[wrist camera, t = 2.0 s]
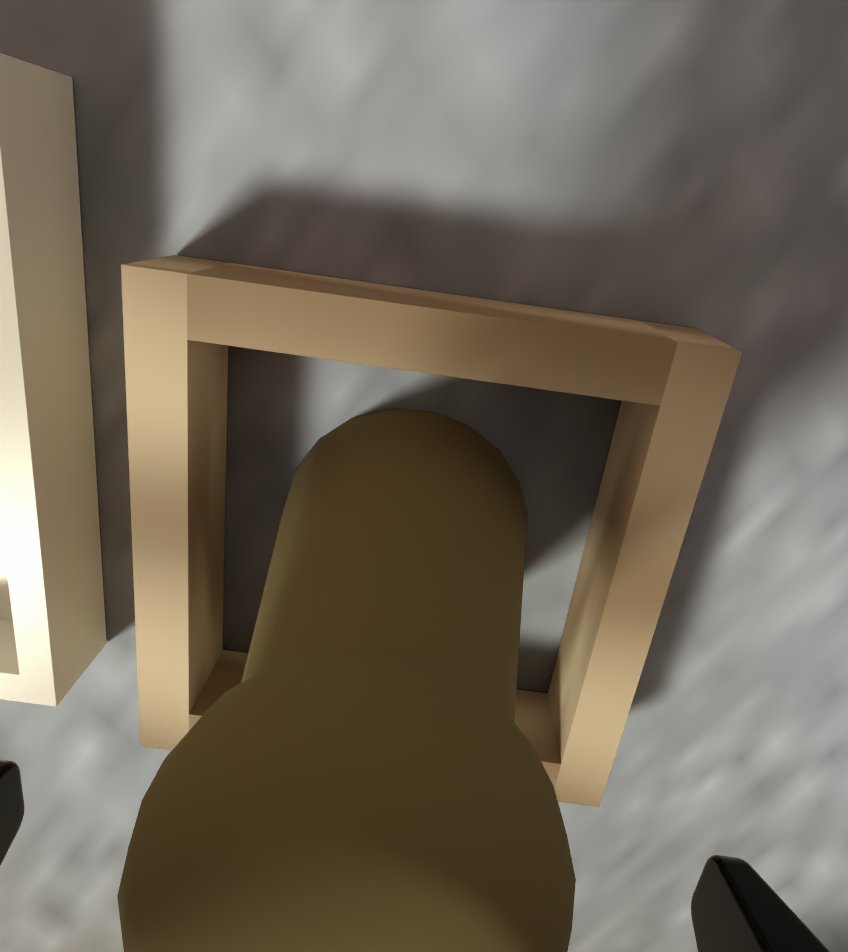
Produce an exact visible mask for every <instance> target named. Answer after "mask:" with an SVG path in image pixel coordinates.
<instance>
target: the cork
mask: <svg viewBox="0 0 848 952" xmlns="http://www.w3.org/2000/svg"><path fill="white" fill-rule="evenodd" d="M526 527H527V513H526V508H525V504H524V500H523V496H522V492H521V488H520V483H519V480H518V479H517V477H516V476H515V474H514V473H513V471H512V470H511V468H510V467H509V465H508V464H507V462H506V460H505V459H504V457H503V456H502V454H501V453H500V451H499V450H498V449H497V448H496V447H494V446H493V445H492V444H491V443H489V442H488V441H487V440H486V439H484V438H483V437H482V436H480V435H479V434H478V433H477V432H475V431H474V430H473V429H472V428H470V427H469V426H468V425H465V424H462V423H460V422H457V421H454V420H452V419H449V418H446V417H444V416H441V415H438V414H436V413H433V412H430V411H414V410H396V409H388V410H384V411H380V412H376V413H372V414H368V415H364V416H361V417H357V418H353V419H350V420H348V421H347V422H345V423H344V424H342V425H341V426H339V427H337V428H336V429H334V430H333V431H331V432H330V433H328V434H327V435H325V436H323V437H322V438H320V439H319V440H318V441H317V442H316V444H315V445H314V446H313V447H312V449H311V450H310V451H309V452H308V454H307V455H306V456H305V458H304V459H303V460H302V461H301V463H300V464H299V465H298V467H297V468H296V470H295V473H294V477H293V480H292V483H291V486H290V489H289V492H288V495H287V498H286V501H285V505H284V509H283V514H282V518H281V522H280V526H279V530H278V534H277V538H276V542H275V546H274V550H273V555H272V559H271V563H270V567H269V571H268V575H267V579H266V583H265V587H264V591H263V596H262V600H261V604H260V608H259V612H258V616H257V620H256V624H255V628H254V632H253V637H252V641H251V645H250V649H249V653H248V657H247V661H246V665H245V669H244V673H243V677H242V682H241V683H240V684H238V685H237V686H235V687H233V688H231V689H229V690H228V691H226V692H225V693H224V694H223V695H222V696H221V697H220V698H219V699H218V700H217V701H216V702H215V703H214V704H213V705H212V706H211V707H210V708H209V709H208V710H207V711H206V713H205V714H204V715H203V716H202V717H201V718H200V719H199V720H198V721H197V722H196V723H195V725H194V726H193V727H192V728H191V729H190V730H189V732H188V733H187V734H186V735H185V736H184V737H183V738H182V740H181V741H180V742H179V743H178V744H177V745H176V747H175V748H174V749H173V750H172V751H171V752H170V754H169V755H168V756H167V757H166V758H165V759H164V761H163V763H162V765H161V767H160V768H159V770H158V772H157V774H156V776H155V778H154V779H153V781H152V783H151V785H150V787H149V789H148V790H147V792H146V794H145V796H144V798H143V800H142V802H141V806H140V809H139V813H138V816H137V820H136V823H135V827H134V830H133V834H132V837H131V841H130V844H129V848H128V852H127V856H126V861H125V865H124V870H123V874H122V879H121V883H120V887H119V892H118V904H119V913H120V922H121V930H122V939H123V947H124V952H567V951H568V945H569V940H570V935H571V930H572V919H573V906H574V893H575V881H576V879H575V874H574V869H573V864H572V859H571V854H570V849H569V844H568V839H567V834H566V830H565V827H564V823H563V819H562V815H561V812H560V808H559V804H558V801H557V797H556V793H555V789H554V786H553V784H552V782H551V780H550V778H549V776H548V774H547V772H546V770H545V768H544V766H543V764H542V762H541V760H540V758H539V756H538V754H537V752H536V750H535V749H534V748H533V746H532V745H531V744H530V742H529V741H528V740H527V739H526V737H525V736H524V735H523V733H522V732H521V731H520V729H519V728H518V727H517V725H516V724H515V723H514V720H515V703H516V687H517V671H518V655H519V639H520V623H521V607H522V591H523V575H524V559H525V543H526Z"/></svg>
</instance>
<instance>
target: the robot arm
mask: <svg viewBox="0 0 848 952" xmlns="http://www.w3.org/2000/svg"><path fill="white" fill-rule="evenodd" d="M23 815H24V800H23V792H22V784H21V777H20V770H19V767H18V765H17V764H16V763H15V762H12V761H7V760H0V865H1V863H2V861H3V859H4V857H5V855H6V853H7V851H8V849H9V847H10V845H11V843H12V841H13V839H14V837H15V836H16V834H17V832H18V830H19V827H20V825H21V822H22V819H23ZM691 915H692V921H693V927H694V932H695V937H696V943H697V948H698V952H830V951H829V950H828V949H827V948H826V947H825V946H824V945H823V944H822V943H821V942H820V940H819V939H818V938H817V937H816V936H815V935H814V934H813V933H812V932H811V931H810V930H809V929H808V927H807V926H806V925H805V924H804V923H803V922H802V921H801V920H800V919H799V918H798V917H797V916H796V914H795V913H794V912H793V911H792V910H791V909H790V908H789V907H788V906H787V905H786V904H785V903H784V901H783V900H782V899H781V898H780V897H779V896H778V895H777V894H776V893H775V892H774V891H773V890H772V888H771V887H770V886H769V885H768V884H767V883H766V882H765V881H764V880H763V879H762V878H761V877H760V875H759V874H758V873H757V872H756V871H755V870H754V869H753V868H752V867H751V866H750V865H749V864H748V863H747V862H745V861H744V860H742V859H739V858H734V857H727V856H719V855H713V856H711V857H710V858H709V859H708V860H707V862H706V864H705V867H704V869H703V872H702V874H701V877H700V879H699V881H698V884H697V886H696V889H695V891H694V893H693V897H692V902H691Z"/></svg>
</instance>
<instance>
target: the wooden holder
mask: <svg viewBox="0 0 848 952" xmlns="http://www.w3.org/2000/svg"><path fill="white" fill-rule="evenodd" d="M121 279H122V304H123V329H124V354H125V379H126V404H127V428H128V453H129V478H130V503H131V528H132V553H133V577H134V602H135V627H136V652H137V677H138V702H139V727H140V746H144V747H152V748H159V749H167V750H173V749H174V748H175V747H176V745H177V744H178V743H179V742H180V741H181V740H182V738H183V737H184V736H185V735H186V734H187V733H188V732H189V730H190V729H191V728H192V727H193V726H194V725H195V723H196V722H197V721H198V720H199V719H200V718H201V717H202V716H203V715H204V714H205V713H206V711H207V710H208V709H209V708H210V707H211V706H212V705H213V704H214V703H215V702H216V701H217V700H218V699H219V698H220V697H221V696H222V695H223V694H224V693H225V692H226V691H228V690H229V689H231V688H233V687H235V686H237V685H238V684H240V683H241V682H242V677H243V673H244V669H245V665H246V661H247V657H248V653H244V652H236V651H229V650H222V649H223V598H224V546H225V495H226V444H227V393H228V346H236V347H243V348H250V349H257V350H264V351H271V352H278V353H286V354H293V355H300V356H307V357H314V358H321V359H329V360H336V361H343V362H350V363H357V364H364V365H372V366H379V367H386V368H393V369H400V370H407V371H415V372H422V373H429V374H436V375H443V376H450V377H457V378H465V379H472V380H479V381H486V382H493V383H500V384H508V385H515V386H522V387H529V388H536V389H543V390H551V391H558V392H565V393H572V394H579V395H586V396H594V397H601V398H608V399H615V400H622V402H621V406H620V410H619V414H618V418H617V422H616V426H615V430H614V433H613V437H612V441H611V445H610V449H609V453H608V457H607V461H606V465H605V469H604V473H603V477H602V481H601V485H600V489H599V493H598V497H597V501H596V505H595V509H594V512H593V516H592V520H591V524H590V528H589V532H588V536H587V540H586V544H585V548H584V552H583V556H582V560H581V564H580V568H579V572H578V576H577V580H576V584H575V587H574V591H573V595H572V599H571V603H570V607H569V611H568V615H567V619H566V623H565V627H564V631H563V635H562V639H561V643H560V647H559V651H558V655H557V659H556V662H555V666H554V670H553V674H552V678H551V682H550V686H549V690H548V693H540V692H533V691H526V690H518V689H516V703H515V720H514V723H515V724H516V725H517V727H518V728H519V729H520V731H521V732H522V733H523V735H524V736H525V737H526V739H527V740H528V741H529V742H530V744H531V745H532V746H533V748H534V749H535V750H536V752H537V754H538V756H539V758H540V760H541V762H542V764H543V766H544V768H545V770H546V772H547V774H548V776H549V778H550V780H551V782H552V784H553V786H554V789H555V793H556V797H557V801H558V802H565V803H573V804H580V805H588V806H595V807H599V806H600V802H601V799H602V796H603V793H604V790H605V787H606V783H607V780H608V777H609V774H610V771H611V768H612V764H613V761H614V758H615V755H616V752H617V749H618V745H619V742H620V739H621V736H622V733H623V730H624V726H625V723H626V720H627V717H628V714H629V711H630V707H631V704H632V701H633V698H634V695H635V692H636V688H637V685H638V682H639V679H640V676H641V673H642V669H643V666H644V663H645V660H646V657H647V654H648V650H649V647H650V644H651V641H652V638H653V635H654V631H655V628H656V625H657V622H658V619H659V616H660V612H661V609H662V606H663V603H664V600H665V597H666V593H667V590H668V587H669V584H670V581H671V578H672V574H673V571H674V568H675V565H676V562H677V559H678V555H679V552H680V549H681V546H682V543H683V540H684V536H685V533H686V530H687V527H688V524H689V521H690V517H691V514H692V511H693V508H694V505H695V502H696V498H697V495H698V492H699V489H700V486H701V483H702V479H703V476H704V473H705V470H706V467H707V464H708V460H709V457H710V454H711V451H712V448H713V445H714V441H715V438H716V435H717V432H718V429H719V426H720V422H721V419H722V416H723V413H724V410H725V407H726V403H727V400H728V397H729V394H730V391H731V388H732V384H733V381H734V378H735V375H736V372H737V369H738V365H739V362H740V359H741V356H742V353H743V352H742V351H740V350H738V349H736V348H734V347H732V346H730V345H728V344H726V343H724V342H722V341H720V340H718V339H716V338H714V337H712V336H710V335H708V334H706V333H704V332H702V331H700V330H698V329H696V328H689V327H682V326H674V325H667V324H660V323H653V322H646V321H639V320H632V319H625V318H618V317H611V316H604V315H596V314H589V313H582V312H575V311H568V310H561V309H554V308H547V307H540V306H533V305H526V304H518V303H511V302H504V301H497V300H490V299H483V298H476V297H469V296H462V295H455V294H448V293H440V292H433V291H426V290H419V289H412V288H405V287H398V286H391V285H384V284H377V283H370V282H362V281H355V280H348V279H341V278H334V277H327V276H320V275H313V274H306V273H299V272H291V271H284V270H277V269H270V268H263V267H256V266H249V265H242V264H235V263H228V262H221V261H213V260H206V259H199V258H192V257H185V256H178V255H172V256H166V257H161V258H155V259H149V260H144V261H138V262H132V263H127V264H121Z"/></svg>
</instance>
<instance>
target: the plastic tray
mask: <svg viewBox="0 0 848 952" xmlns="http://www.w3.org/2000/svg"><path fill="white" fill-rule="evenodd" d="M106 643H107V642H106V625H105V609H104V592H103V576H102V559H101V543H100V526H99V510H98V493H97V477H96V460H95V444H94V427H93V411H92V394H91V378H90V362H89V345H88V329H87V312H86V296H85V279H84V263H83V246H82V230H81V213H80V197H79V180H78V164H77V147H76V131H75V114H74V98H73V82H72V77H70V76H67V75H64V74H61V73H58V72H55V71H52V70H49V69H46V68H43V67H40V66H37V65H34V64H31V63H28V62H25V61H22V60H19V59H16V58H13V57H11V56H8V55H5V54H2V53H0V699H5V700H12V701H20V702H27V703H35V704H42V705H50V706H57V705H58V703H59V702H60V701H61V700H62V698H63V697H64V696H65V695H66V693H67V692H68V691H69V690H70V688H71V687H72V686H73V685H74V683H75V682H76V681H77V680H78V678H79V677H80V676H81V675H82V673H83V672H84V671H85V670H86V668H87V667H88V666H89V664H90V663H91V662H92V661H93V659H94V658H95V657H96V656H97V654H98V653H99V652H100V651H101V649H102V648H103V647H104V646H105V644H106Z"/></svg>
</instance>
